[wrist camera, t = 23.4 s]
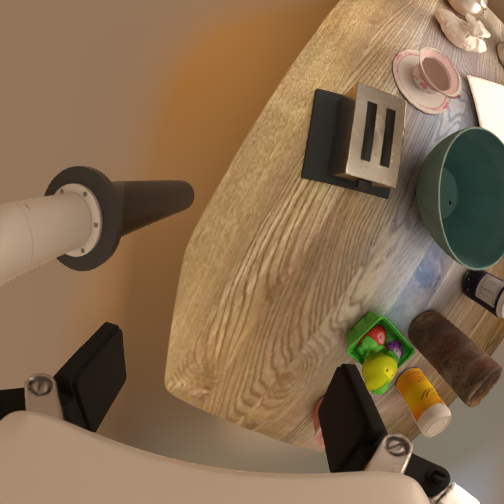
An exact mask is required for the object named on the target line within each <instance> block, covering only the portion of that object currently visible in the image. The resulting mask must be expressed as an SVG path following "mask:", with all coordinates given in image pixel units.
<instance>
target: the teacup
mask: <svg viewBox="0 0 504 504" xmlns="http://www.w3.org/2000/svg"><path fill="white" fill-rule="evenodd" d="M392 71H393V75H394V79H395V82H396V84H397V86H398V88H399V90H400V92H401V93H402V94H403V95H404V97H405V98H406V99H407V101H408V102H410V103H411V104H412V105H413V106H414V107H416V108H417V109H418V110H420V111H422V112H424V113H427V114H434V115H436V114H439V113H443V112H444V111H445V110H446V109H447V108H448V106H449V103H450V101H451V98H452V99H456V98H457V97H458V98H461V97H460V95H459V94H460V92H461V89H462V82H461V78H460V75H459V73H458V71H457V69H456V67H455V66H454V64H453V63H452V62H451V60H450V59H449V58H448V57H447V56H446V55H445V54H443V53H442V52H441V51H439V50H437V49H435V48H432V47H425V48H423V49H422V50H421V51H418V50H414V49H406V50H402V51H401V52H399V53H398V54H397V55H396V57H395V59H394V60H393V70H392Z"/></svg>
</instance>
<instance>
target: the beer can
mask: <svg viewBox="0 0 504 504" xmlns="http://www.w3.org/2000/svg"><path fill="white" fill-rule="evenodd" d="M396 388H397V390H398V392H399V394H400V395H401V397H402V399H403V401H404V402H405V404H406V406H407V408H408V409H409V411H410V413H411V415H412V417H413V418H414V420H415V422H416V424H417V426H418V427H419V429H420V431H421V433H422V434H423V435H425V436H426V437H433V436H435V435H437V434H439V433H440V432H441V431H443V430H444V429H445V428H446V427H447V426H448V425H449V423H450V422H451V412H450V411H449V409H448V408H447V406H446V405H445V403H444V402H443V400H442V399H441V398H440V396H439V395H438V393H437V392H436V391H435V389H434V388H433V386H432V385H431V384H430V382H429V381H428V380H427V378H426V377H425V375H424V374H423V373H422V371H421V370H420V369H418V368H410V369H408V370H406V371H404V372H403V373H402V374H401V375H400V376H399V378H398V380H397V383H396Z"/></svg>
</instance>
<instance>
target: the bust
mask: <svg viewBox="0 0 504 504" xmlns="http://www.w3.org/2000/svg"><path fill="white" fill-rule="evenodd" d="M435 17H436V19H437V21H438V22H439V23H440V25H441V29H442V31H443V32H444V34H445V35H446V37H447V39H448V40H449V41H451V42H452V43H453V44H454V45H455V46H457V47H458V48H462V49H463V50H465V51H475V52H480V53H482V52H484V51H486V45H485V43H484V41H483V40H482V39H483V38H484V37H485V38H489V37H490V36H491V35H490V33H489V32H488V31H487V30H486V29H485V26H484V25H483V24H482V22H480V21H479V20H475V17H474V16H472V15H470V14H469V13H466V16H465V17H466V19H467V21H464V20H462V19H459V18H458V17H457V16H456V15H454V14H453V13H452V12H450V11H449V10H446V9H441V8H440V9H438V10H437V11H436V14H435Z"/></svg>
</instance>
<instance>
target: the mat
mask: <svg viewBox="0 0 504 504" xmlns="http://www.w3.org/2000/svg"><path fill="white" fill-rule="evenodd" d="M342 97H343V95H340V94H336V93H333V92H329V91H325V90H321V89H316V90H315V96H314V102H313V109H312V115H311V122H310V128H309V134H308V140H307V146H306V152H305V157H304V163H303V169H302V174H301V178H305V179H310V180H315V181H319V182H324V183H328V184H332V185H336V186H341V187H345V188H349V189H353V190H357V191H360V192H364V193H368V194H372V195H375V196H379V197H383V198H386V199H388V198H389V193H390V188H386V187H373V186H371V187H370V191H365V190H362V189H358V188H355V182H352V181H348V180H344V179H340V178H336V177H332V176H328V175H327V173H328V167H329V161H330V156H331V149H332V143H333V137H334V130H335V124H336V117H337V109H338V102H339V100H340V99H341V98H342Z"/></svg>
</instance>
